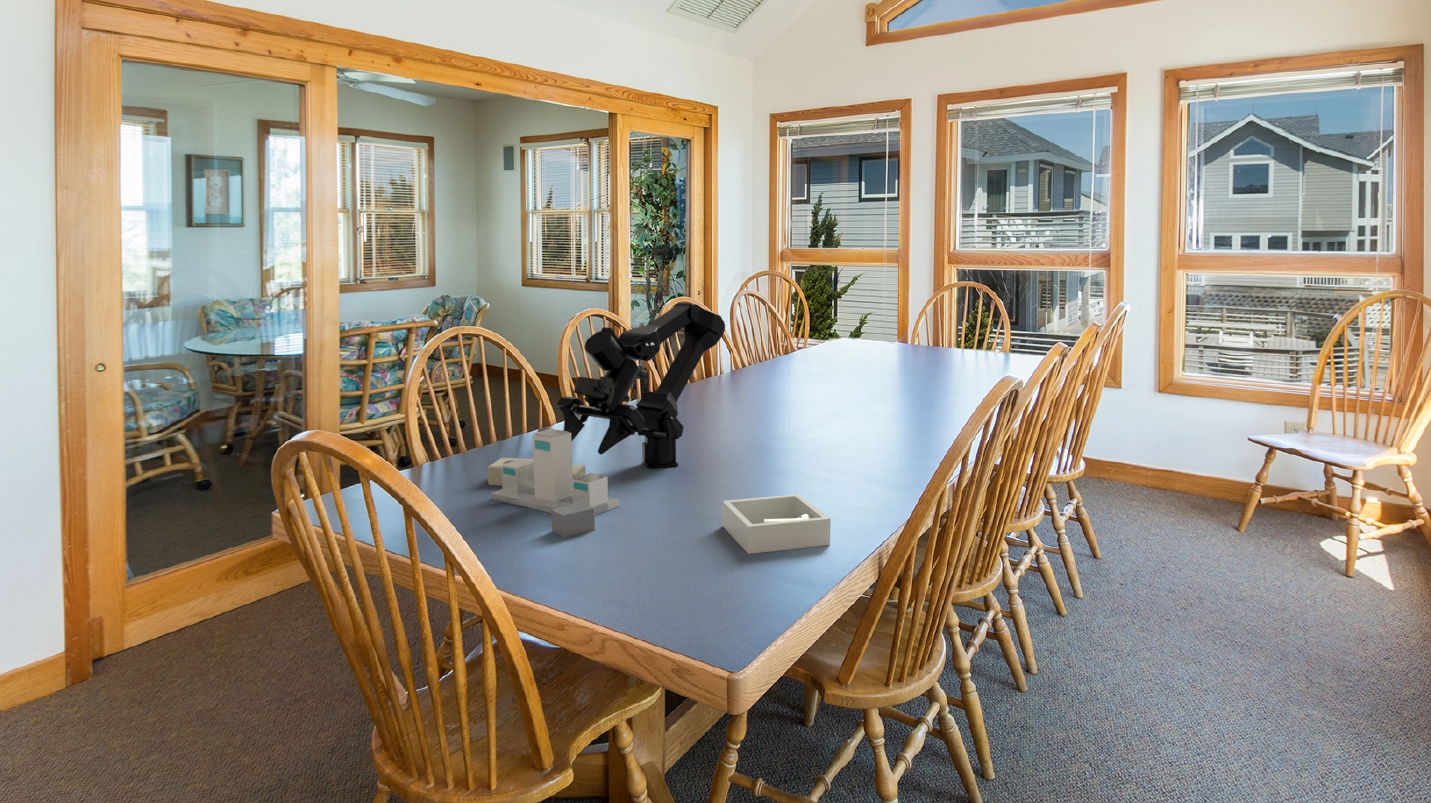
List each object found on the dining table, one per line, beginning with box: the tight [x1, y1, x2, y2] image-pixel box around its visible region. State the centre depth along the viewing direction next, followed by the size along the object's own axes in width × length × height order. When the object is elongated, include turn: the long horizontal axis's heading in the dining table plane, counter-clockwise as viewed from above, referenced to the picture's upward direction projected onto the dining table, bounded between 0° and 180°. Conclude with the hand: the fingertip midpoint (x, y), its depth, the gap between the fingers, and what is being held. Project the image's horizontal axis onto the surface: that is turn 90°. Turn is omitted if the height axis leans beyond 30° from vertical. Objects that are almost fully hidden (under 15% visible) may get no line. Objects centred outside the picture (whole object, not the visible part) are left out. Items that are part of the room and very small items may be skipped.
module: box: [531, 428, 573, 502], centre depth 169 cm, size 5×5×12 cm
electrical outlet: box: [487, 457, 586, 486], centre depth 184 cm, size 7×4×18 cm
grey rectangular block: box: [550, 503, 596, 538], centre depth 155 cm, size 6×4×4 cm, turn 129°
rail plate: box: [490, 458, 620, 516], centre depth 170 cm, size 10×23×6 cm, turn 56°
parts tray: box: [722, 493, 832, 555], centre depth 153 cm, size 14×14×4 cm
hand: (581, 450), depth 176 cm, fingers open, 9 cm apart
